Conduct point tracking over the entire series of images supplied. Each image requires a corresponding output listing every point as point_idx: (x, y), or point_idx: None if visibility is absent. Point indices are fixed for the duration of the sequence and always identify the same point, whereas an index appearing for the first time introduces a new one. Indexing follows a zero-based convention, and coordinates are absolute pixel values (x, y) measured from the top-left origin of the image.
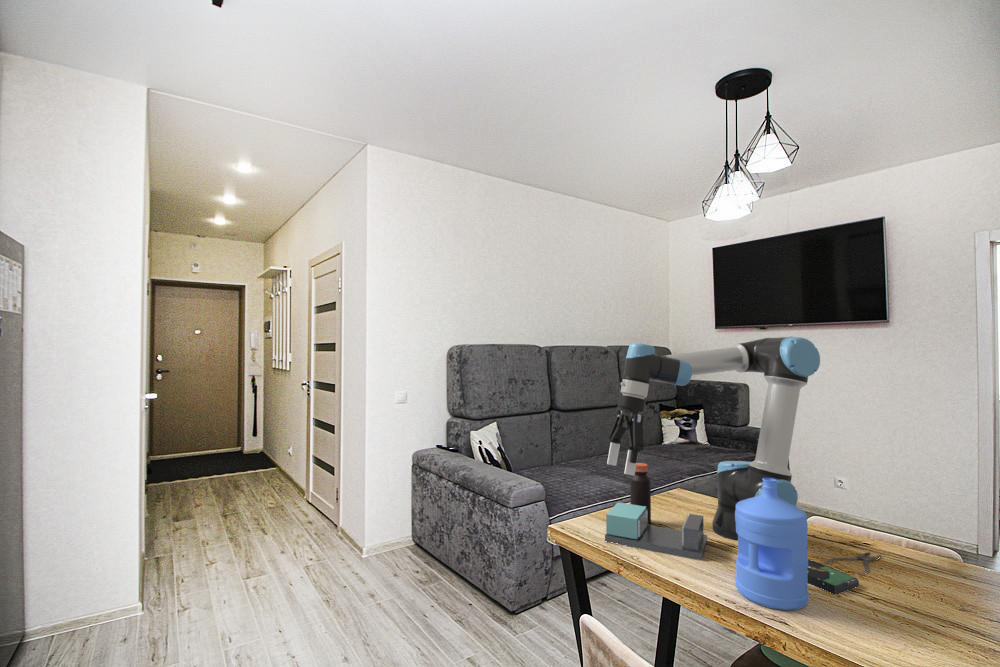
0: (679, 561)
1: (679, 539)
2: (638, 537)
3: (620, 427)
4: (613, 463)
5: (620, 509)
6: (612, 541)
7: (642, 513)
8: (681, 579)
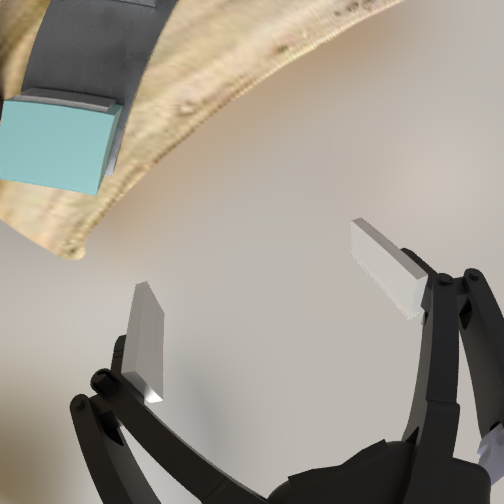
0: (198, 21)
1: (104, 10)
2: None
3: (244, 486)
4: (153, 299)
5: (45, 164)
6: (117, 155)
7: (48, 103)
8: (284, 42)
